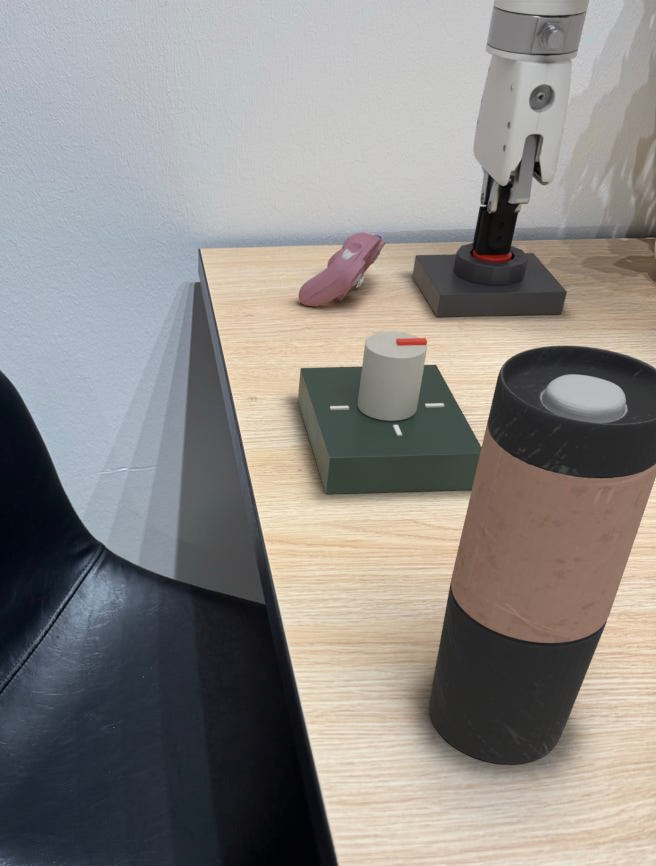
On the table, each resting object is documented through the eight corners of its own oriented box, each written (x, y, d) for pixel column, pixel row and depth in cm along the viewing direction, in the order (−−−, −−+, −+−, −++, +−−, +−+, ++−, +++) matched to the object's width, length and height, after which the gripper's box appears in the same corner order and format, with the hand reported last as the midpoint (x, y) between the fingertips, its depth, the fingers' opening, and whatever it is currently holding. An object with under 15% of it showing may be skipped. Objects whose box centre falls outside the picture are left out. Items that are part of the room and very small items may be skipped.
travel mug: (395, 717, 57) (461, 382, 44) (472, 652, 61) (553, 328, 48) (519, 792, 53) (631, 446, 40) (592, 717, 57) (716, 382, 44)
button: (501, 263, 102) (505, 245, 101) (513, 277, 99) (516, 258, 98) (465, 263, 102) (469, 245, 100) (475, 277, 99) (479, 259, 98)
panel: (297, 401, 85) (300, 365, 83) (430, 398, 85) (436, 362, 83) (325, 494, 74) (330, 455, 72) (477, 489, 75) (485, 451, 73)
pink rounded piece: (330, 328, 99) (369, 269, 94) (291, 300, 99) (329, 239, 94) (362, 292, 106) (400, 234, 101) (326, 265, 106) (363, 207, 101)
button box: (528, 274, 106) (537, 234, 103) (561, 314, 98) (572, 272, 96) (412, 276, 105) (418, 236, 103) (436, 317, 98) (443, 275, 95)
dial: (363, 422, 76) (372, 354, 73) (352, 394, 79) (360, 327, 76) (422, 420, 76) (434, 352, 73) (409, 392, 80) (420, 326, 76)
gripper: (611, 52, 82) (554, 281, 94) (549, 15, 93) (505, 224, 105) (517, 53, 81) (473, 283, 93) (466, 16, 93) (432, 225, 105)
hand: (490, 251), depth 99 cm, fingers closed
